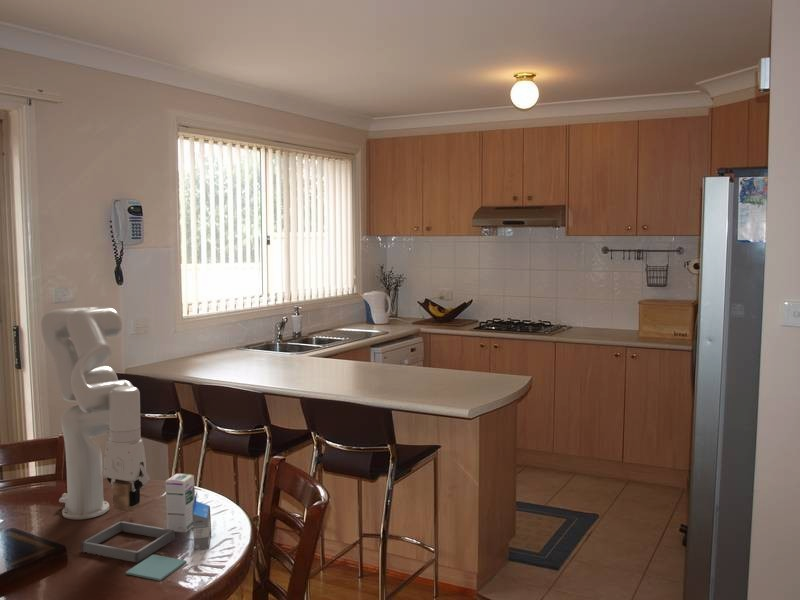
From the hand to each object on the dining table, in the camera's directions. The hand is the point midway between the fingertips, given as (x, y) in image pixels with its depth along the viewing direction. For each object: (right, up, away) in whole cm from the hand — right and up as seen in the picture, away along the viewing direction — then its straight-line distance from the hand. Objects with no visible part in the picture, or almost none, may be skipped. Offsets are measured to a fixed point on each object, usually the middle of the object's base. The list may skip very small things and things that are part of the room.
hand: (126, 502), depth 187 cm
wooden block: (0, -1, 0) cm, 1 cm away
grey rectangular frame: (0, -11, +1) cm, 11 cm away
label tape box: (+19, -12, +3) cm, 22 cm away
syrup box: (+11, -11, +12) cm, 19 cm away
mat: (+12, -13, -12) cm, 21 cm away
